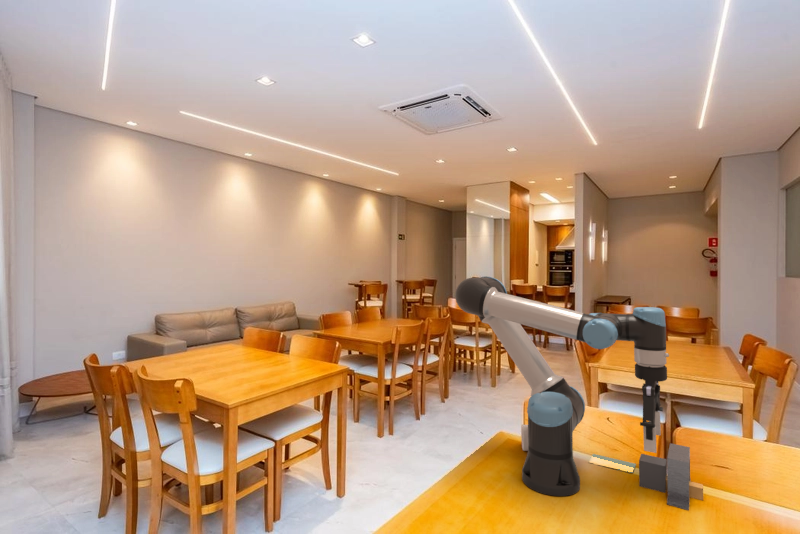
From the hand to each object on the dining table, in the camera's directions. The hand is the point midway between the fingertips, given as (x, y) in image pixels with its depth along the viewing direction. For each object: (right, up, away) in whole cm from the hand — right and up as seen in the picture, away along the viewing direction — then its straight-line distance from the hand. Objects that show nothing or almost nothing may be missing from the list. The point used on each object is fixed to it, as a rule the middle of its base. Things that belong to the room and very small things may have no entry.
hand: (652, 442), depth 113 cm
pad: (-5, -12, +13) cm, 18 cm away
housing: (+5, -12, -4) cm, 13 cm away
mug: (-23, -12, +24) cm, 36 cm away
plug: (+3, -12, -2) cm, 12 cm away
